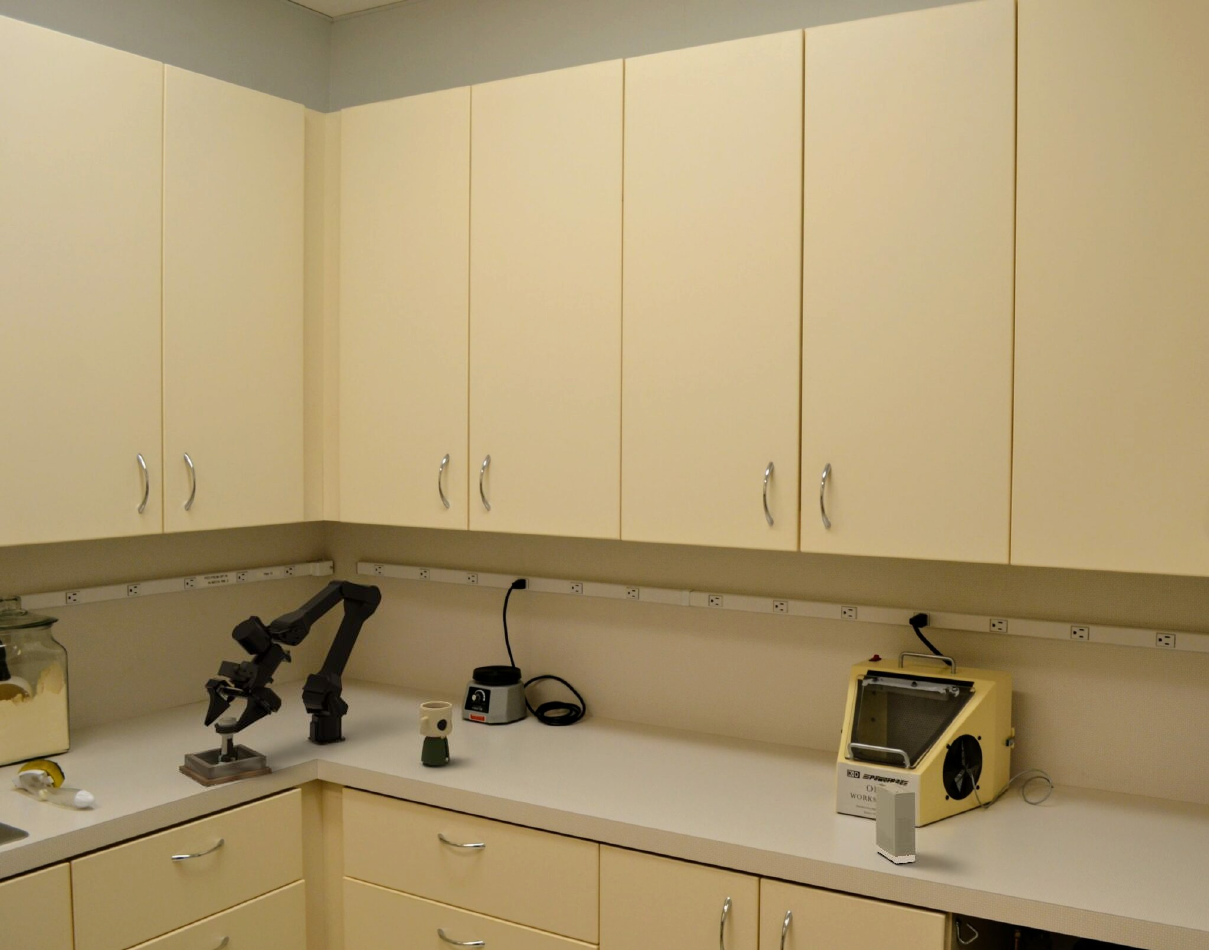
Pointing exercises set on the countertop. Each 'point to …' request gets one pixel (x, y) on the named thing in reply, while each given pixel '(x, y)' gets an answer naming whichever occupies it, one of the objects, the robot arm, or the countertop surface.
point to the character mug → (435, 731)
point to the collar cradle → (224, 766)
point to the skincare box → (895, 819)
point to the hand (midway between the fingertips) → (220, 728)
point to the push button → (227, 739)
